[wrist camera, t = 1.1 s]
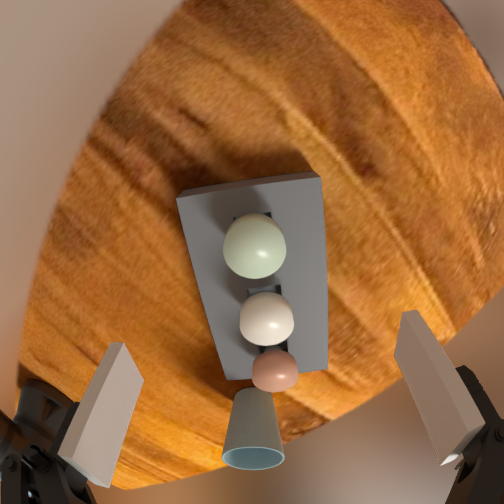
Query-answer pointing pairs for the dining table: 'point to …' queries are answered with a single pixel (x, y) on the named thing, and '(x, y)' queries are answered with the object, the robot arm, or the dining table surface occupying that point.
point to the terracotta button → (274, 370)
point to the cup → (253, 432)
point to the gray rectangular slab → (281, 282)
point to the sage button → (254, 246)
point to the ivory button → (266, 318)
